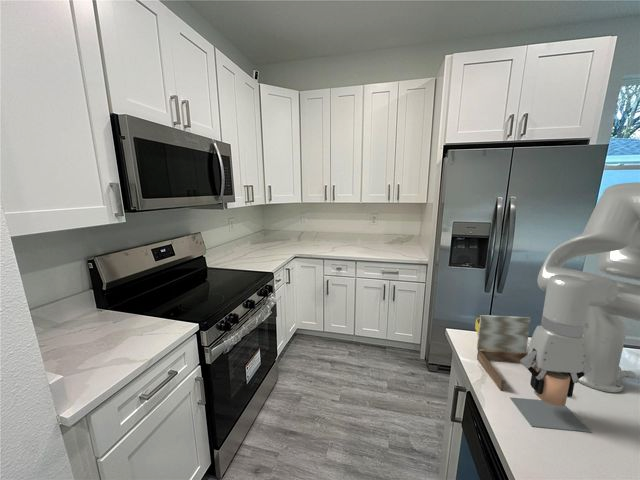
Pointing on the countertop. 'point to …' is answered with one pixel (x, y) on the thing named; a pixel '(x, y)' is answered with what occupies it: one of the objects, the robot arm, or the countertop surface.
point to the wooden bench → (501, 342)
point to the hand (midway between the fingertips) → (550, 391)
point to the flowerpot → (555, 388)
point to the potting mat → (548, 415)
